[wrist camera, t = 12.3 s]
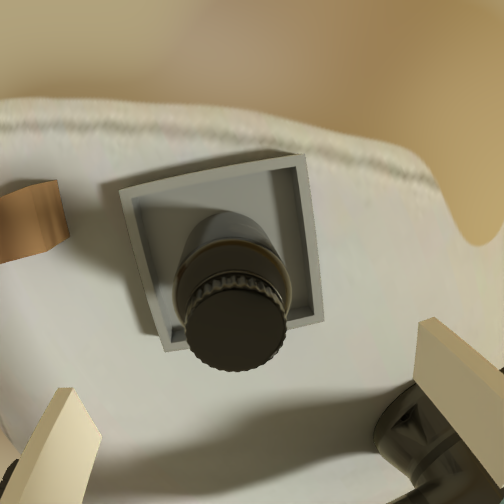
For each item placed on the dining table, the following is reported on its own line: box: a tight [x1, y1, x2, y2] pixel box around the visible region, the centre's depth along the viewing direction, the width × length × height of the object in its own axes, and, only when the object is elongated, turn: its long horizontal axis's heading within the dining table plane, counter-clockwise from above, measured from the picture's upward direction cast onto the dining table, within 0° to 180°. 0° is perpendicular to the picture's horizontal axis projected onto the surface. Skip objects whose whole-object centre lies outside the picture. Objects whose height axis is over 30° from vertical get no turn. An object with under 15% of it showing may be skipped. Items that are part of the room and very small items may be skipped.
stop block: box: [0, 180, 70, 264], centre depth 21 cm, size 8×5×4 cm, turn 100°
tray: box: [119, 154, 324, 352], centre depth 25 cm, size 14×14×2 cm
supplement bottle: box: [172, 212, 292, 372], centre depth 20 cm, size 7×7×12 cm
